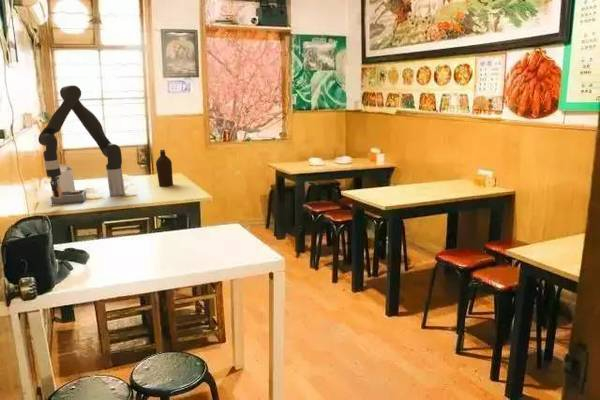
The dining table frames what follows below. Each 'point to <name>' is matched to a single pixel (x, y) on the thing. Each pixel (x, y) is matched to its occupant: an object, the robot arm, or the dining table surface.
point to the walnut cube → (75, 192)
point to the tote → (70, 198)
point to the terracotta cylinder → (58, 192)
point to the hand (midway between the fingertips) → (57, 195)
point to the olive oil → (164, 170)
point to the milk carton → (66, 178)
